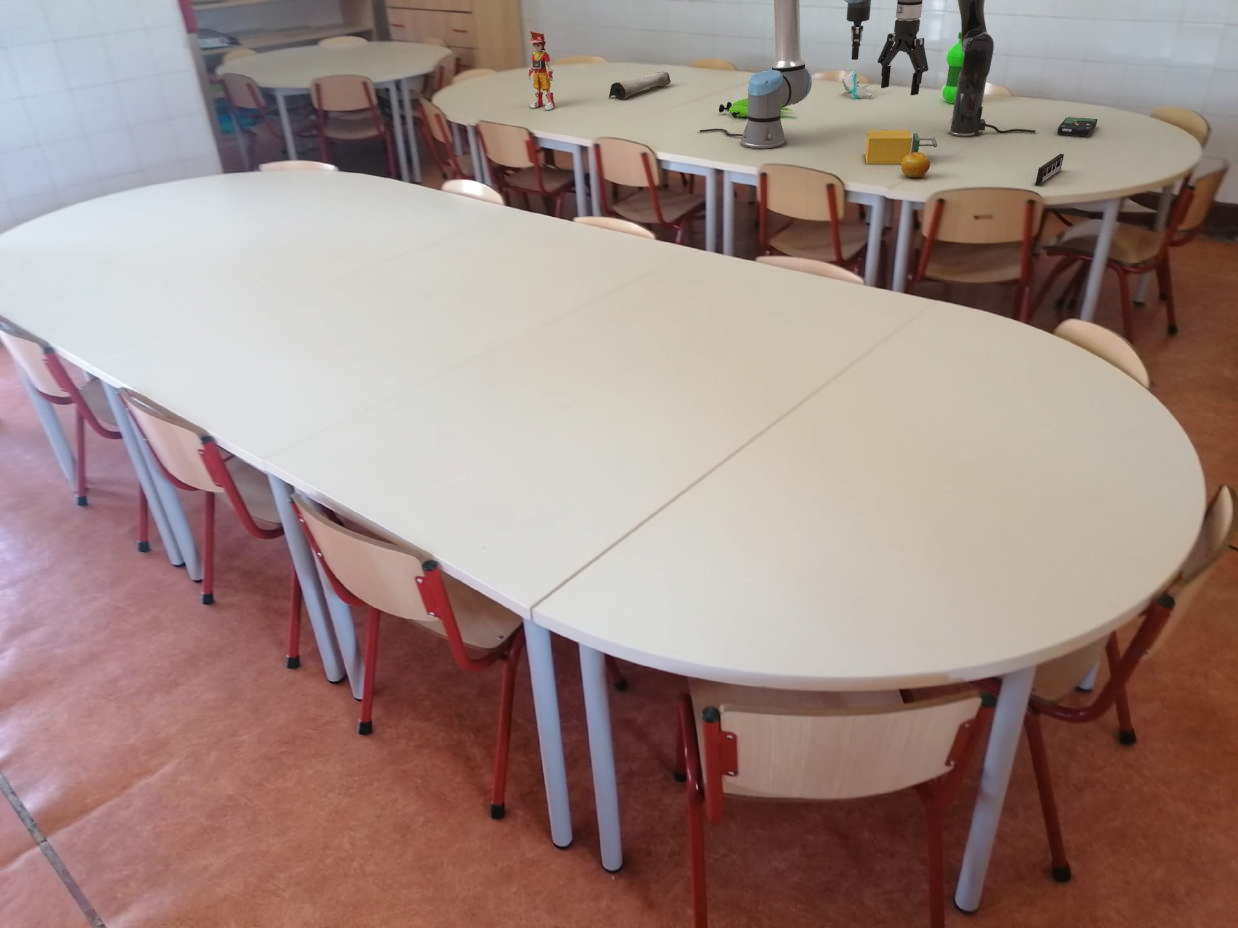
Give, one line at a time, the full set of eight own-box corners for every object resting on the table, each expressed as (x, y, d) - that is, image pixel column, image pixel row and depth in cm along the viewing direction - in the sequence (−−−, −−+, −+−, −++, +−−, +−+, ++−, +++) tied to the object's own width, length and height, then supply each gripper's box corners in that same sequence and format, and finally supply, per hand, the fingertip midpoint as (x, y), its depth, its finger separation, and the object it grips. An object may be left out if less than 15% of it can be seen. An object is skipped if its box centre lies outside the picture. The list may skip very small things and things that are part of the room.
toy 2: (709, 116, 351) (780, 128, 338) (711, 102, 348) (782, 114, 336) (739, 105, 371) (807, 117, 359) (741, 92, 368) (809, 103, 356)
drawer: (932, 152, 299) (935, 133, 295) (935, 160, 292) (938, 140, 288) (876, 153, 302) (878, 133, 298) (878, 160, 295) (880, 140, 291)
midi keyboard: (1039, 185, 269) (1043, 168, 266) (1035, 184, 270) (1038, 168, 267) (1060, 170, 279) (1064, 154, 277) (1056, 169, 280) (1060, 153, 277)
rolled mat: (651, 76, 408) (662, 61, 399) (662, 93, 408) (674, 79, 400) (605, 92, 391) (616, 77, 383) (617, 110, 391) (628, 95, 383)
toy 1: (525, 109, 381) (517, 32, 364) (534, 104, 388) (527, 28, 371) (550, 110, 377) (543, 32, 360) (559, 105, 384) (553, 28, 367)
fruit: (895, 167, 279) (911, 144, 276) (896, 170, 287) (913, 147, 284) (917, 183, 278) (934, 160, 275) (918, 184, 285) (935, 162, 282)
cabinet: (906, 155, 301) (909, 130, 297) (908, 164, 293) (912, 138, 289) (865, 155, 304) (867, 130, 299) (866, 164, 296) (869, 138, 291)
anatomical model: (837, 70, 373) (861, 64, 372) (839, 96, 379) (863, 89, 378) (847, 78, 361) (872, 71, 360) (850, 104, 367) (874, 98, 366)
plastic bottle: (973, 101, 354) (984, 32, 339) (955, 106, 349) (966, 36, 335) (952, 97, 361) (962, 29, 346) (934, 102, 356) (944, 33, 342)
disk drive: (1089, 138, 306) (1096, 126, 316) (1091, 129, 305) (1098, 118, 315) (1056, 135, 311) (1064, 124, 321) (1058, 126, 309) (1066, 115, 320)
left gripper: (871, 16, 286) (864, 86, 298) (928, 25, 268) (918, 100, 280) (889, 13, 289) (881, 83, 301) (946, 22, 271) (936, 96, 283)
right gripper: (871, 8, 292) (866, 61, 301) (870, 1, 303) (866, 53, 312) (847, 8, 293) (843, 61, 303) (847, 2, 305) (843, 53, 314)
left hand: (899, 91), depth 291 cm, fingers open, 13 cm apart
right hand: (854, 57), depth 307 cm, fingers open, 8 cm apart
